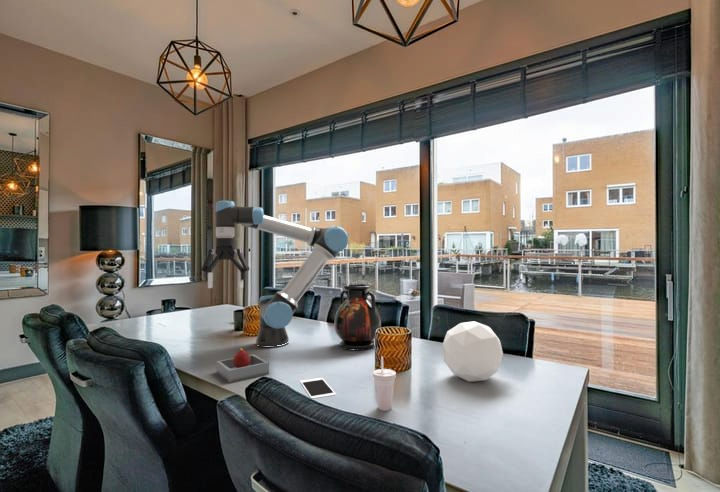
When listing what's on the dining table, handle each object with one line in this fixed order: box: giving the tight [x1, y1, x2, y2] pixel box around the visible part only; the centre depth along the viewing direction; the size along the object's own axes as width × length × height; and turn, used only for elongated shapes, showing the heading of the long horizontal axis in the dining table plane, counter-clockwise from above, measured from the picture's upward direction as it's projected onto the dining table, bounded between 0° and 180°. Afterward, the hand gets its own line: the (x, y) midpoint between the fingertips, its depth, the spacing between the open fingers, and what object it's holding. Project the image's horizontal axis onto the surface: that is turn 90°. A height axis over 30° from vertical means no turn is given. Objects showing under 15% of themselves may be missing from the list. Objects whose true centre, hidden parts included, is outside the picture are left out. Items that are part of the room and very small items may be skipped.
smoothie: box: [372, 356, 397, 412], centre depth 100 cm, size 6×6×14 cm
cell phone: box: [299, 377, 337, 400], centre depth 116 cm, size 8×16×1 cm, turn 22°
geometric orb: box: [441, 320, 504, 383], centre depth 122 cm, size 19×20×20 cm
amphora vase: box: [333, 283, 382, 351], centre depth 167 cm, size 22×22×28 cm
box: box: [215, 354, 270, 384], centre depth 131 cm, size 14×14×4 cm
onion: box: [233, 348, 250, 368], centre depth 131 cm, size 6×6×8 cm
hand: (225, 288), depth 153 cm, fingers open, 13 cm apart
